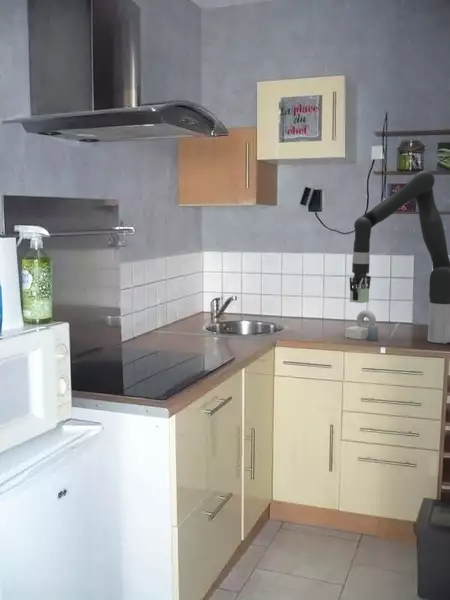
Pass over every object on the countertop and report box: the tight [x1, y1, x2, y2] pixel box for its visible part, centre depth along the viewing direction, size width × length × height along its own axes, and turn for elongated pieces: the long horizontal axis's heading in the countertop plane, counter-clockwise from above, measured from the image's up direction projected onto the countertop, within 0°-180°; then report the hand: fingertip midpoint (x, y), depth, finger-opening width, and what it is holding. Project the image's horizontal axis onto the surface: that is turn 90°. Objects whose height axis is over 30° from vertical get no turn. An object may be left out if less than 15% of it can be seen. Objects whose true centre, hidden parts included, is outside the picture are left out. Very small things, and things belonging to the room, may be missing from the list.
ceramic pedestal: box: [344, 325, 368, 340], centre depth 295 cm, size 8×8×4 cm
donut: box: [356, 309, 377, 328], centre depth 312 cm, size 10×4×10 cm, turn 46°
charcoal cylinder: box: [366, 325, 379, 342], centre depth 289 cm, size 5×5×6 cm
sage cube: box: [349, 287, 370, 304], centre depth 293 cm, size 6×6×6 cm
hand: (359, 299), depth 293 cm, fingers closed on sage cube, 6 cm apart
